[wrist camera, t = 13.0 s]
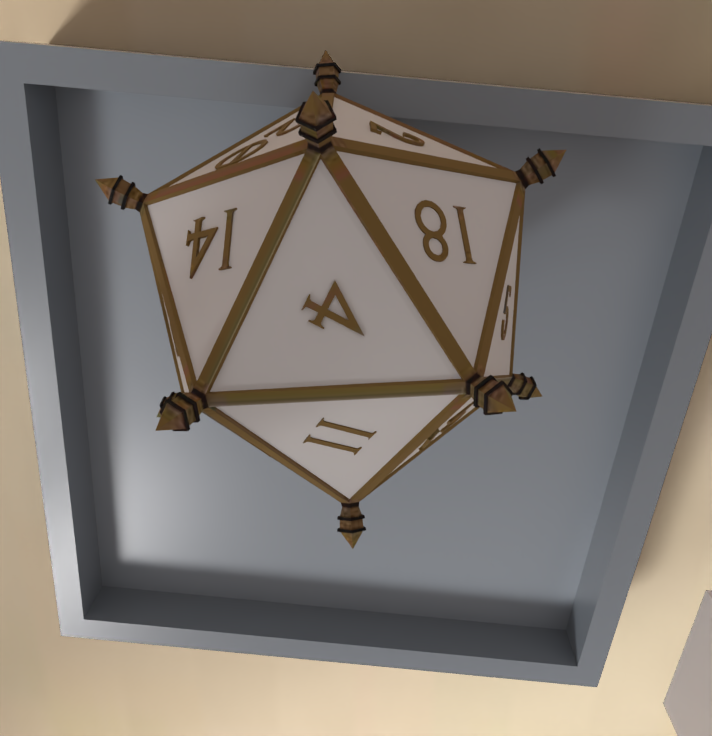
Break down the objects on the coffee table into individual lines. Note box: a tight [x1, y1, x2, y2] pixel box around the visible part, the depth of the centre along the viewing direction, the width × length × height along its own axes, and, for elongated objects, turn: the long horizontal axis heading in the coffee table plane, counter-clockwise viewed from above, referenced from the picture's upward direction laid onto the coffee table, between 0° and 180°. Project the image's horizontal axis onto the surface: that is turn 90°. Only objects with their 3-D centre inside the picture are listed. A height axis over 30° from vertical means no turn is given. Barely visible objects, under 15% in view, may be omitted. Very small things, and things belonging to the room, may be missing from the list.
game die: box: [95, 51, 566, 549], centre depth 13 cm, size 9×8×10 cm
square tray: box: [0, 41, 712, 687], centre depth 19 cm, size 17×17×3 cm
